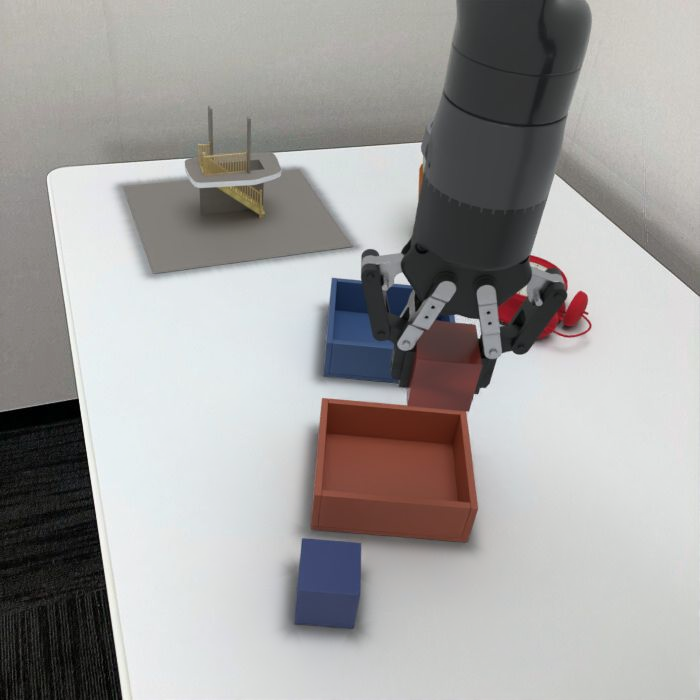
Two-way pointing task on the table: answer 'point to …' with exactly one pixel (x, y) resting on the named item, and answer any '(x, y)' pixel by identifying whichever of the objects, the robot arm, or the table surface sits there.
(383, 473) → the terracotta bin
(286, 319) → the table surface
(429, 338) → the red block
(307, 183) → the architectural model
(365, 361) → the blue bin
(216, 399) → the table surface
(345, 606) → the navy block
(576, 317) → the alarm clock
